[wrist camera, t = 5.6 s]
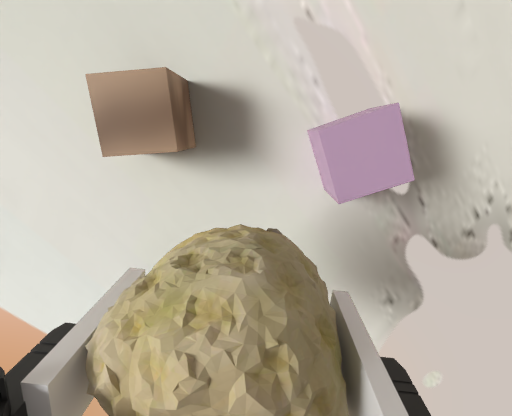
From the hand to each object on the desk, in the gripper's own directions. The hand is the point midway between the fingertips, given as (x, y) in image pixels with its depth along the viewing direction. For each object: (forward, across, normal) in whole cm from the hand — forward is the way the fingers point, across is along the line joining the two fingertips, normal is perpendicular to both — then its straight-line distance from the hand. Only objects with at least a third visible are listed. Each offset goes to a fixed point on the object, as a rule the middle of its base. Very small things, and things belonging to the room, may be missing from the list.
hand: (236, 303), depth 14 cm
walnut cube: (+11, -8, +8) cm, 16 cm away
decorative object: (+1, 0, 0) cm, 1 cm away
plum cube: (+11, +7, +8) cm, 15 cm away
